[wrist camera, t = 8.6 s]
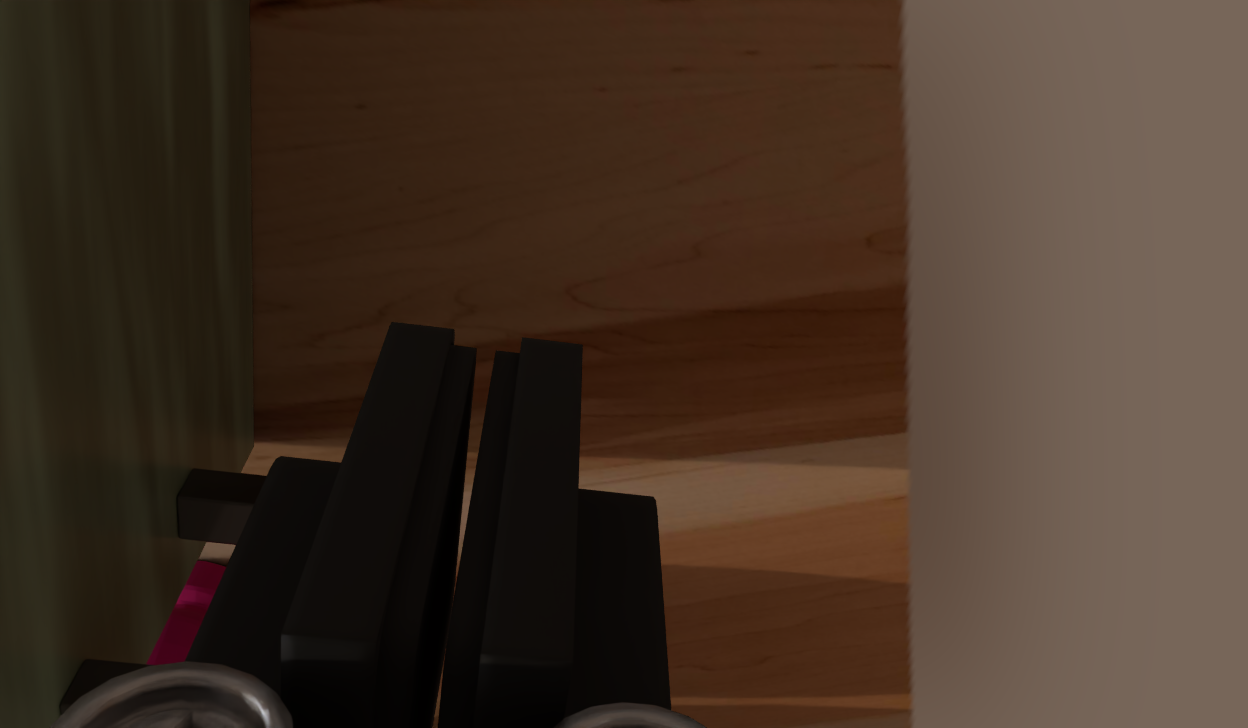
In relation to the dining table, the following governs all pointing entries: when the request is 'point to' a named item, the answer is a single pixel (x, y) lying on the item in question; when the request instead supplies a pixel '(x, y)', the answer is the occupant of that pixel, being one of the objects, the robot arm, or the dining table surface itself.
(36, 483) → the cupboard door
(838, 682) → the dining table surface
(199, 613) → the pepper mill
